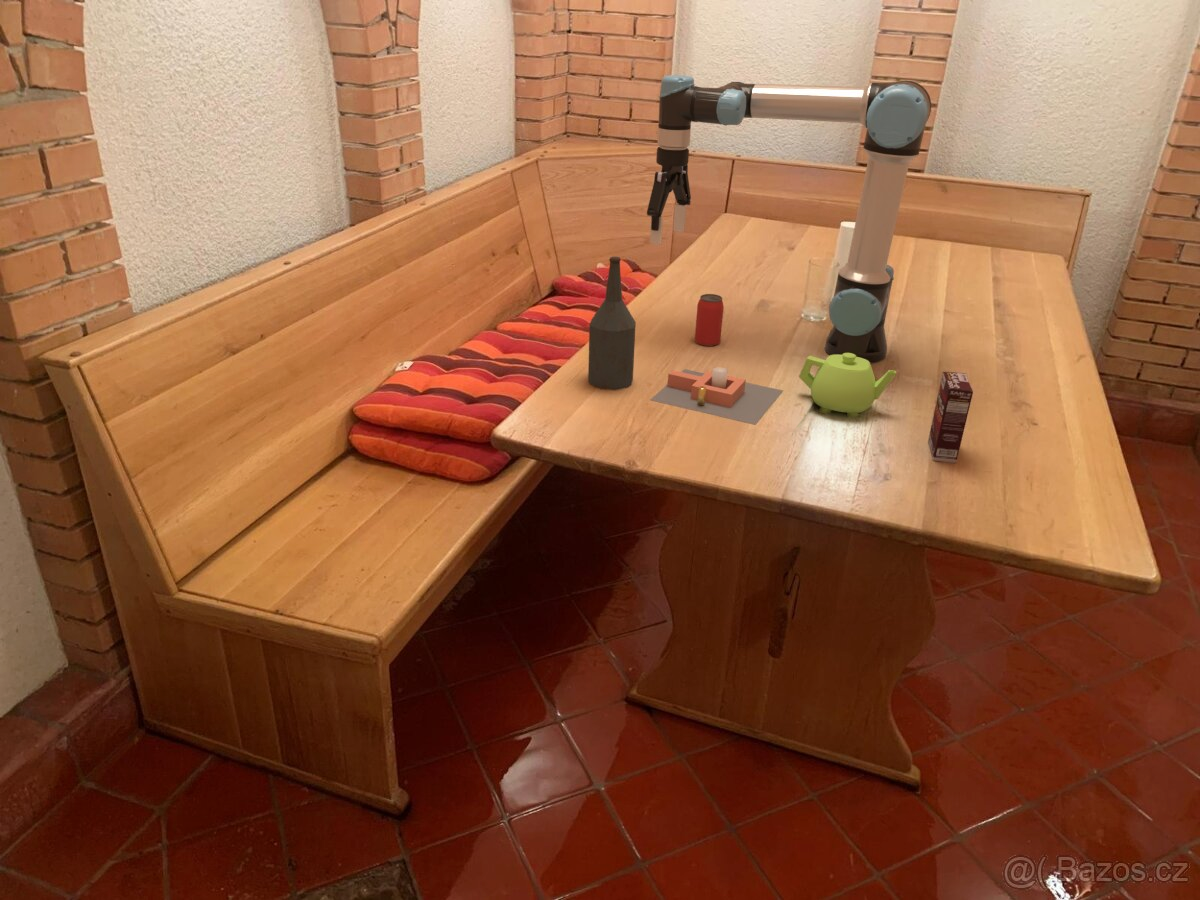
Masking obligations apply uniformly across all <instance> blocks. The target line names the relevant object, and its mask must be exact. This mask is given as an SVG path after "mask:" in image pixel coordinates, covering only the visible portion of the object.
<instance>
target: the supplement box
mask: <svg viewBox="0 0 1200 900" xmlns="http://www.w3.org/2000/svg"><path fill="white" fill-rule="evenodd" d="M968 378H969V377H968V374H967V373H964V372H962V373H961V372H954V371H953V372H952V371H942V373H941V378H940V384H939V389H938V393H937V396H936V397H937V398H936V402H935V407H934V411H933V417H932V422H931V426H930V431H929V436H928V440H927V443H928V447H929V450H930V454H931V458H932V461H936V462H942V463H943V462H945V463H950V464H951V463H953V464H956V463H957V462H958V458H959V453H960V449H961V445H962V441H963V435H964V432H965V428H966V424H967V419H968V416H969V410H970V407H971V403H972V398H973V394H974V390H973V389H972V387H971V384H970V381H969V379H968Z"/></svg>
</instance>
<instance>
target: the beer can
mask: <svg viewBox="0 0 1200 900" xmlns="http://www.w3.org/2000/svg"><path fill="white" fill-rule="evenodd" d="M696 308H697V309H696V318H695V328H694V329H695V331H694V332H695V333H694V341H695V343H697V344H699V345H700V346H706V347H714V346H717V345H719V344H720V342H721V339H722V327H723V318H724V317H723V316H724V308H725V307H724V301H723V297H722V296H721V295H719V294H715V293H704V294H701V295H700V296H699V300H698V302H697V306H696Z"/></svg>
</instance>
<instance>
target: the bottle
mask: <svg viewBox="0 0 1200 900" xmlns="http://www.w3.org/2000/svg"><path fill="white" fill-rule="evenodd" d="M621 260H622V258H620V257H619V256H610V258H609V259H608V261H609V269H608V276H607V281H606V283H607V284H606V290H605V299H604V300H603V302H601V304H600V306H599V308H598V309H597V310H596V312H595V313H594V315H593V316H592V318H591V319H590V321H589V332H588V334H589V335H588V337H589V338H588V374H587V377H588V378H587V379H588V380H587V382H588V384H589V385H590V386H593V387H595V388H597V389H600V390H610V391H616V390H617V391H618V390H622V389H627V388H629V387H631V386H632V384H633V381H634V362H635V360H634V359H635V345H636V323H637V322H636V321H635V318H634V317H633V315H632V314H631V311H630V310H629V308H628V307H627V305H626V304H625V302H624V300H623V291H622V275H621Z"/></svg>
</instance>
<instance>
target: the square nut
mask: <svg viewBox="0 0 1200 900" xmlns="http://www.w3.org/2000/svg"><path fill="white" fill-rule="evenodd" d="M667 374H668V375H667V384H668V385H667V384H666V385H667V386H669V387H673V388H678V389H682V390H687V391H691V398H692V399H696V400H698V390H699V387H700V386H703V387H706V396H705V402H709V403H714V404H718V405H722V406H727V407H731V406H732V405H733V404H734V403H735V402H736V401H737V400H738V399H739V397H740V396H741V395H742V394H743V393H744V391H745V383H746V382H747V379H743V378H738V377H735V376H730V375H727V382H726V389H722V388H718V387H713V386H711V385H712V374H713V371H706V372H705V374H704V375H703V376H702V377H701V376H697V375H692V374H687V373H683V372H682V371H678V370H671V371H670V372H669V373H667Z"/></svg>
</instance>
